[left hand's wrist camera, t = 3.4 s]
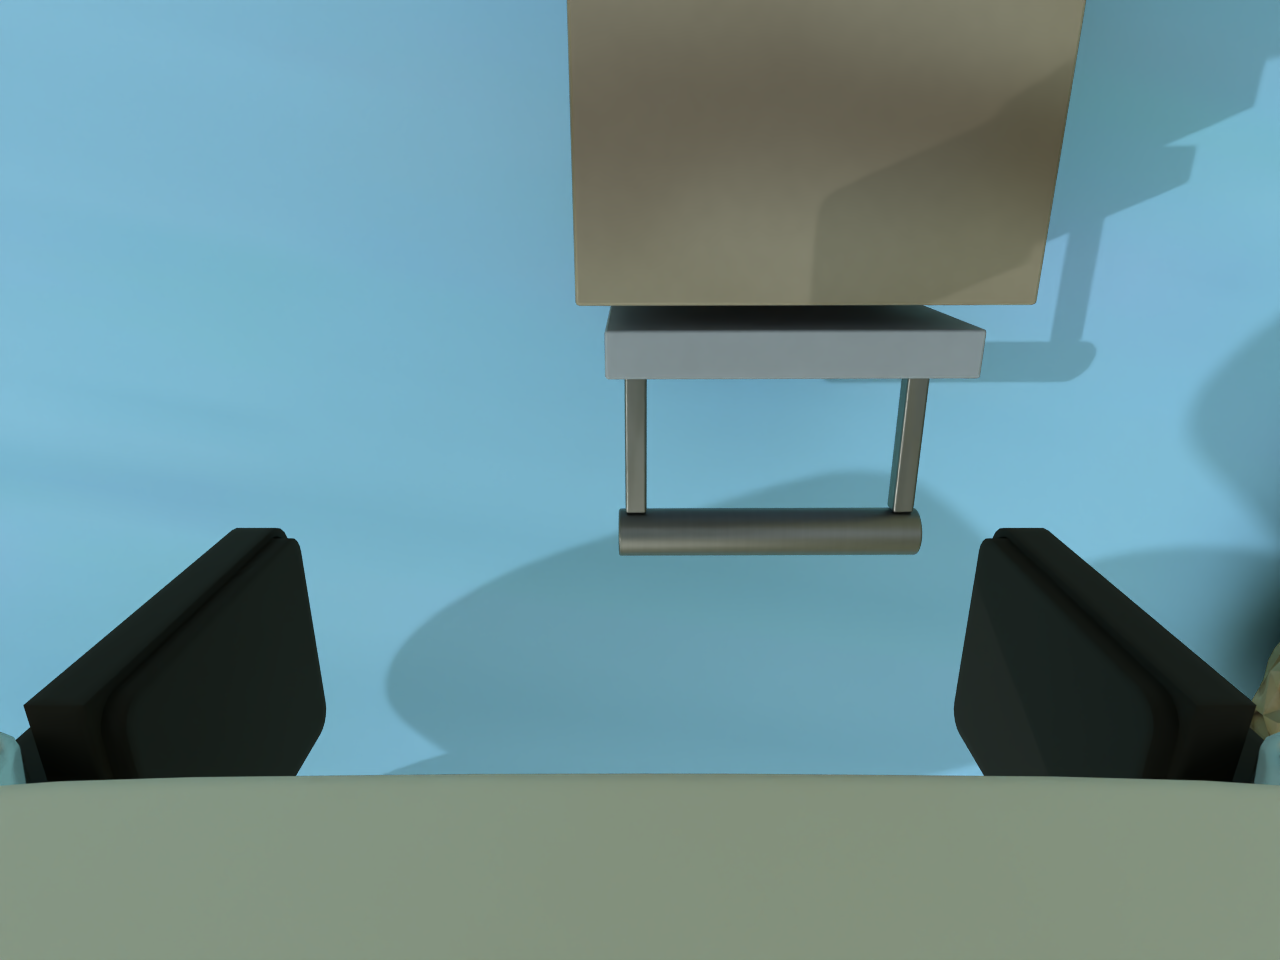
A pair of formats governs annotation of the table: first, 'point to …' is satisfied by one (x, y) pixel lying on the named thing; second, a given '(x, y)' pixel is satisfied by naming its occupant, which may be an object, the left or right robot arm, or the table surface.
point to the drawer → (783, 350)
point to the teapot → (1268, 699)
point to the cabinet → (816, 149)
